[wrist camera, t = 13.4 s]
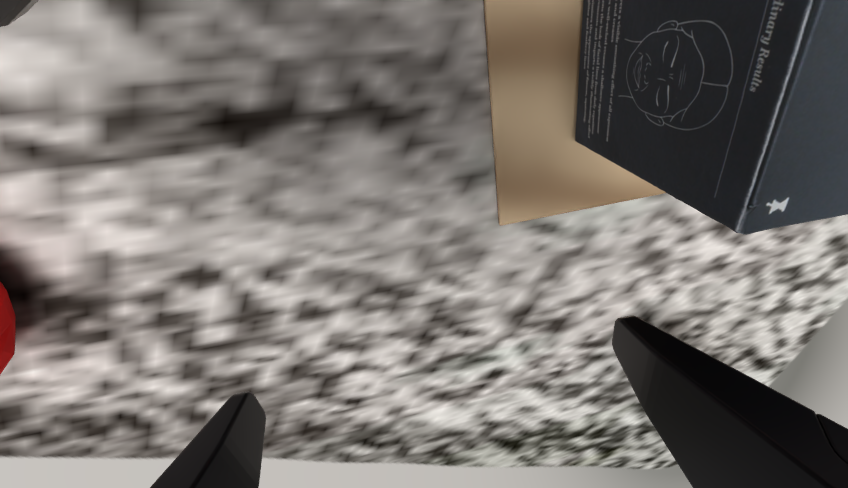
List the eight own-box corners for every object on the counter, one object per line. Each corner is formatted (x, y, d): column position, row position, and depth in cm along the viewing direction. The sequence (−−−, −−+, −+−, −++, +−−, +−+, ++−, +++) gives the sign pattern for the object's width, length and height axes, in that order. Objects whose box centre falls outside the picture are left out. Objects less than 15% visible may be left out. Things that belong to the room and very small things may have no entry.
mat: (473, -146, 14) (475, -149, 14) (785, -206, 14) (792, -210, 14) (498, 223, 22) (500, 225, 22) (694, 184, 22) (697, 186, 22)
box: (674, 123, 20) (919, 206, 11) (570, 141, 20) (731, 241, 11) (712, -63, 16) (1154, -177, 7) (582, -41, 16) (855, -126, 7)
